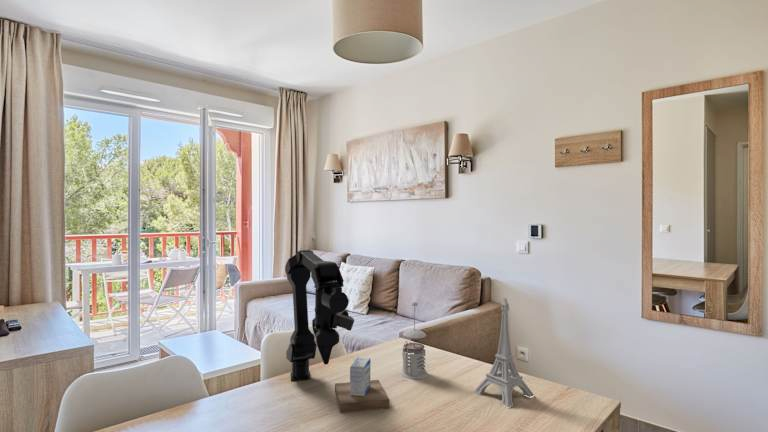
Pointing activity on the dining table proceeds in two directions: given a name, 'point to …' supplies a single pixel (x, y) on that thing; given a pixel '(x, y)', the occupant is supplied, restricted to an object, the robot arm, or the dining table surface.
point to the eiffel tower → (504, 365)
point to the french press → (417, 358)
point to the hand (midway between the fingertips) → (324, 358)
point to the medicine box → (360, 377)
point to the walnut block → (361, 397)
